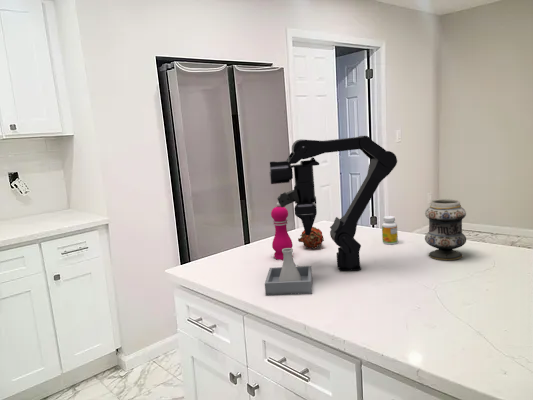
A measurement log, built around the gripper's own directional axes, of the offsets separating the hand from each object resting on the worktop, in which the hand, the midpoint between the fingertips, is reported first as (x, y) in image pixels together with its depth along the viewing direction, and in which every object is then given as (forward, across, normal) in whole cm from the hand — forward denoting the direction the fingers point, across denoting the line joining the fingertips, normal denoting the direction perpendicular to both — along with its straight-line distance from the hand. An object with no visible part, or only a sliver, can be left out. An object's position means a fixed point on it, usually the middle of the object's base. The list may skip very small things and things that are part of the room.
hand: (308, 231), depth 122 cm
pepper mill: (+13, -16, -10) cm, 23 cm away
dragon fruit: (+13, -27, 0) cm, 30 cm away
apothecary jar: (+13, -9, +43) cm, 46 cm away
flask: (+12, +11, -6) cm, 17 cm away
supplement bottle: (+13, -27, +29) cm, 42 cm away
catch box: (+13, +11, -6) cm, 18 cm away
